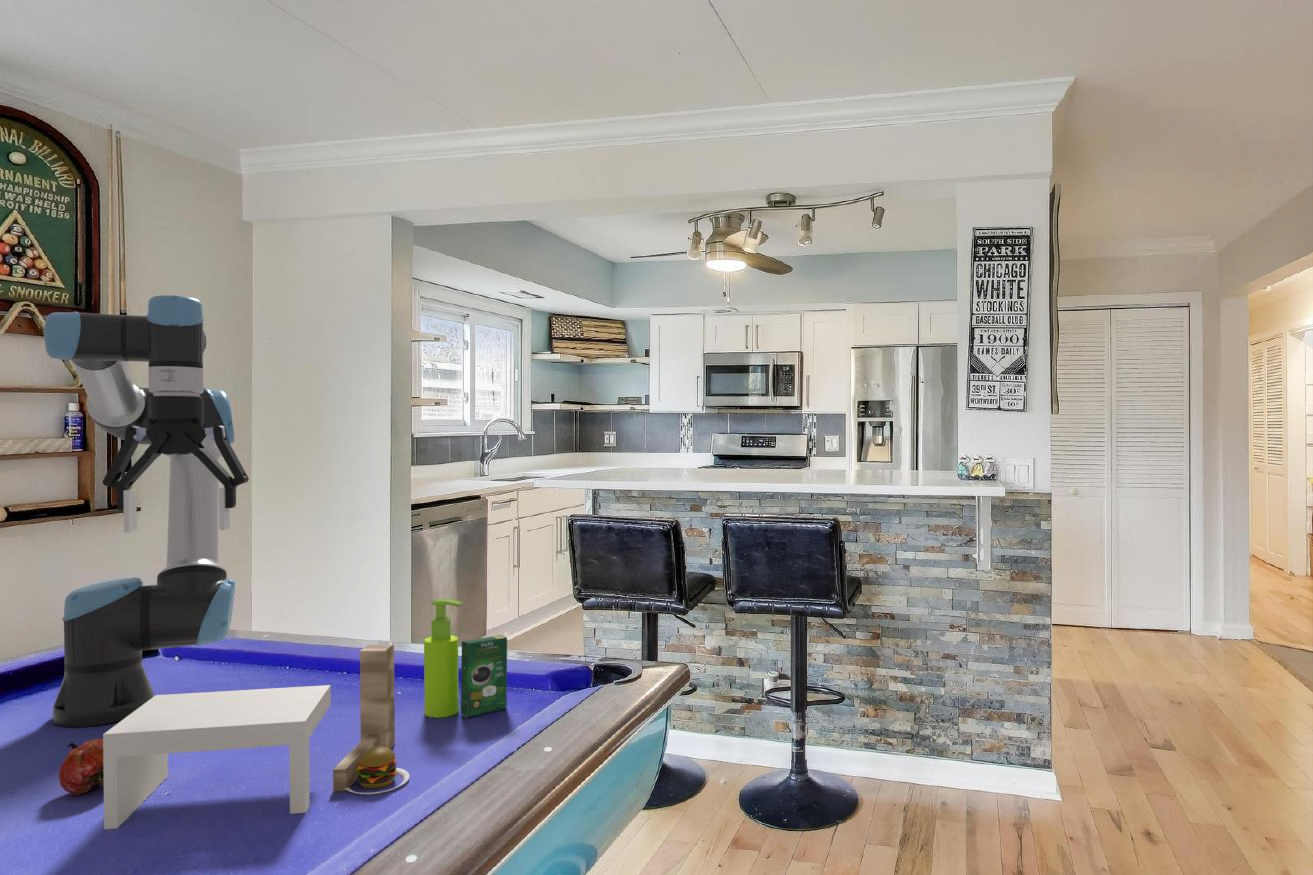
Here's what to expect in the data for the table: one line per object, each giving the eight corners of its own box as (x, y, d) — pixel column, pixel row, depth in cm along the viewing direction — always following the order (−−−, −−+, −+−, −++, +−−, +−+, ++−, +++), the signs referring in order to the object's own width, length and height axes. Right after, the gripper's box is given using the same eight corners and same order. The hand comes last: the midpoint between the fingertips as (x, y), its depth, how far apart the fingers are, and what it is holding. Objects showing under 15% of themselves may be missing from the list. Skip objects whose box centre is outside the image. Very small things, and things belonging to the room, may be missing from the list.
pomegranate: (132, 797, 119) (99, 746, 123) (144, 765, 116) (109, 714, 120) (75, 824, 113) (41, 769, 116) (86, 790, 110) (51, 735, 113)
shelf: (156, 777, 120) (155, 695, 120) (331, 764, 125) (330, 684, 125) (104, 829, 105) (103, 734, 105) (306, 812, 109) (305, 721, 109)
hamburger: (337, 813, 110) (336, 771, 110) (326, 780, 121) (326, 742, 121) (428, 794, 116) (428, 755, 116) (411, 764, 126) (411, 728, 126)
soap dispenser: (455, 719, 145) (454, 604, 144) (418, 716, 146) (417, 602, 146) (469, 708, 150) (468, 597, 150) (434, 705, 152) (433, 596, 152)
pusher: (369, 744, 133) (369, 644, 133) (394, 743, 133) (393, 644, 133) (325, 790, 116) (324, 675, 116) (354, 790, 116) (353, 675, 116)
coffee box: (500, 704, 152) (500, 633, 152) (508, 708, 150) (508, 636, 150) (460, 714, 147) (459, 640, 147) (467, 718, 145) (466, 643, 145)
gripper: (76, 394, 125) (78, 535, 125) (254, 394, 130) (256, 530, 130) (100, 396, 132) (101, 529, 132) (267, 396, 137) (269, 525, 137)
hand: (177, 530), depth 131 cm, fingers open, 13 cm apart
